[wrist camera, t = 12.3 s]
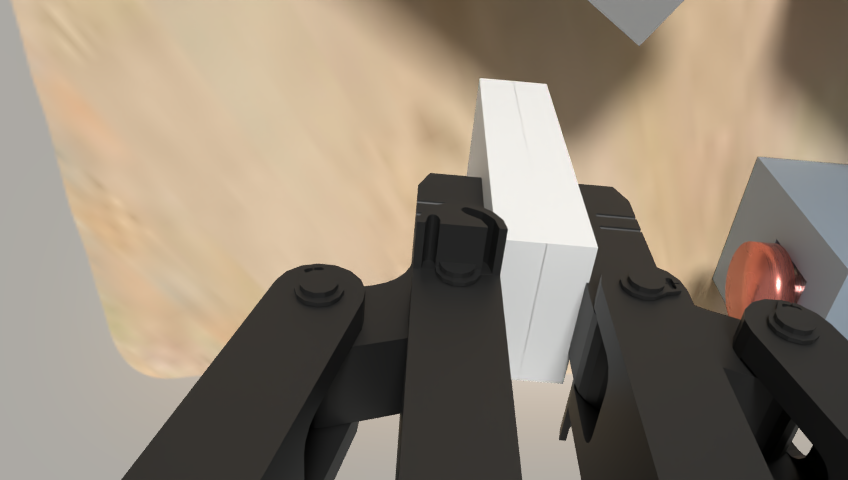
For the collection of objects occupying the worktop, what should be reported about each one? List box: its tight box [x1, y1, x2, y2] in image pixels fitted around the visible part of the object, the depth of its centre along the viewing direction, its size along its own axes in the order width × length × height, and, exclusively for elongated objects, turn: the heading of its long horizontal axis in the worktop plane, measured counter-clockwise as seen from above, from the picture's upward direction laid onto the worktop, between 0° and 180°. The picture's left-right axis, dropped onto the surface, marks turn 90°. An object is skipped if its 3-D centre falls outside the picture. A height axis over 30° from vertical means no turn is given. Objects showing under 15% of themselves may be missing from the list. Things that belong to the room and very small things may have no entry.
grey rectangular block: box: [713, 157, 848, 340], centre depth 45 cm, size 8×10×13 cm
